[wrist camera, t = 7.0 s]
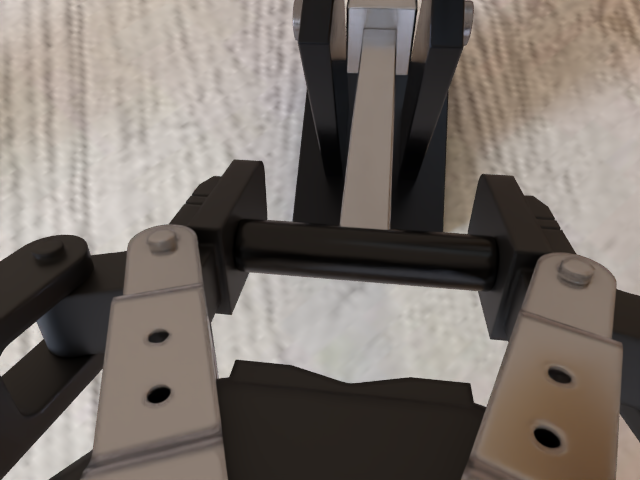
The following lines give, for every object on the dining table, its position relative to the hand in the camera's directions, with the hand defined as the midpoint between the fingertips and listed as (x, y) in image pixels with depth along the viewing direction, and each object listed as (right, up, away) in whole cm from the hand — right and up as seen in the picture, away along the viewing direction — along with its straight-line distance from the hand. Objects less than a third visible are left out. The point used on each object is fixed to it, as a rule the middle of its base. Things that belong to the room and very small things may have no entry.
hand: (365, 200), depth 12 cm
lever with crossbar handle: (0, +2, +2) cm, 3 cm away
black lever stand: (+2, +4, +15) cm, 15 cm away
